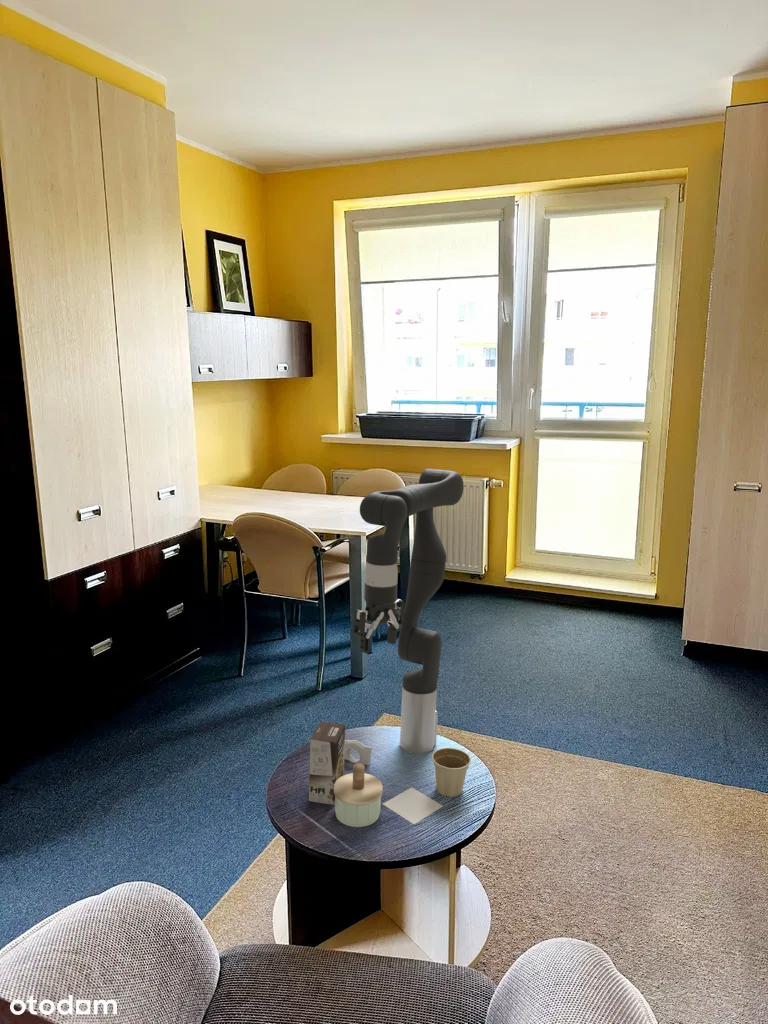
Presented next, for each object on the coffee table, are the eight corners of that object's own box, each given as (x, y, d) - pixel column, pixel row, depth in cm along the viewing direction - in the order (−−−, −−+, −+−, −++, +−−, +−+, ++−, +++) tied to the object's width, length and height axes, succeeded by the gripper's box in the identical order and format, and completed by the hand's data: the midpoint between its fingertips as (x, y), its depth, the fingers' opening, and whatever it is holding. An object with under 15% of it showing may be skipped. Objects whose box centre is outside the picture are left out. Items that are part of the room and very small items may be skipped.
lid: (392, 791, 157) (393, 767, 156) (356, 811, 150) (357, 786, 149) (359, 771, 165) (360, 748, 164) (323, 789, 157) (324, 765, 156)
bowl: (358, 795, 165) (359, 772, 164) (388, 815, 159) (389, 791, 157) (326, 813, 158) (327, 789, 157) (356, 834, 152) (357, 809, 150)
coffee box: (334, 806, 161) (336, 742, 158) (308, 802, 162) (308, 739, 159) (344, 784, 170) (346, 723, 167) (319, 780, 171) (320, 720, 168)
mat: (411, 788, 169) (411, 787, 169) (443, 807, 162) (443, 805, 162) (382, 805, 162) (382, 804, 162) (413, 826, 155) (414, 824, 155)
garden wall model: (328, 755, 183) (329, 734, 181) (332, 752, 184) (332, 731, 183) (368, 768, 177) (369, 746, 176) (372, 764, 179) (372, 743, 178)
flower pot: (442, 774, 175) (444, 743, 174) (475, 788, 170) (478, 756, 168) (422, 791, 168) (424, 759, 166) (456, 806, 163) (458, 773, 161)
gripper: (369, 590, 151) (367, 660, 154) (414, 578, 161) (411, 644, 164) (346, 582, 156) (345, 650, 159) (391, 571, 166) (388, 635, 169)
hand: (378, 647), depth 162 cm, fingers open, 8 cm apart
